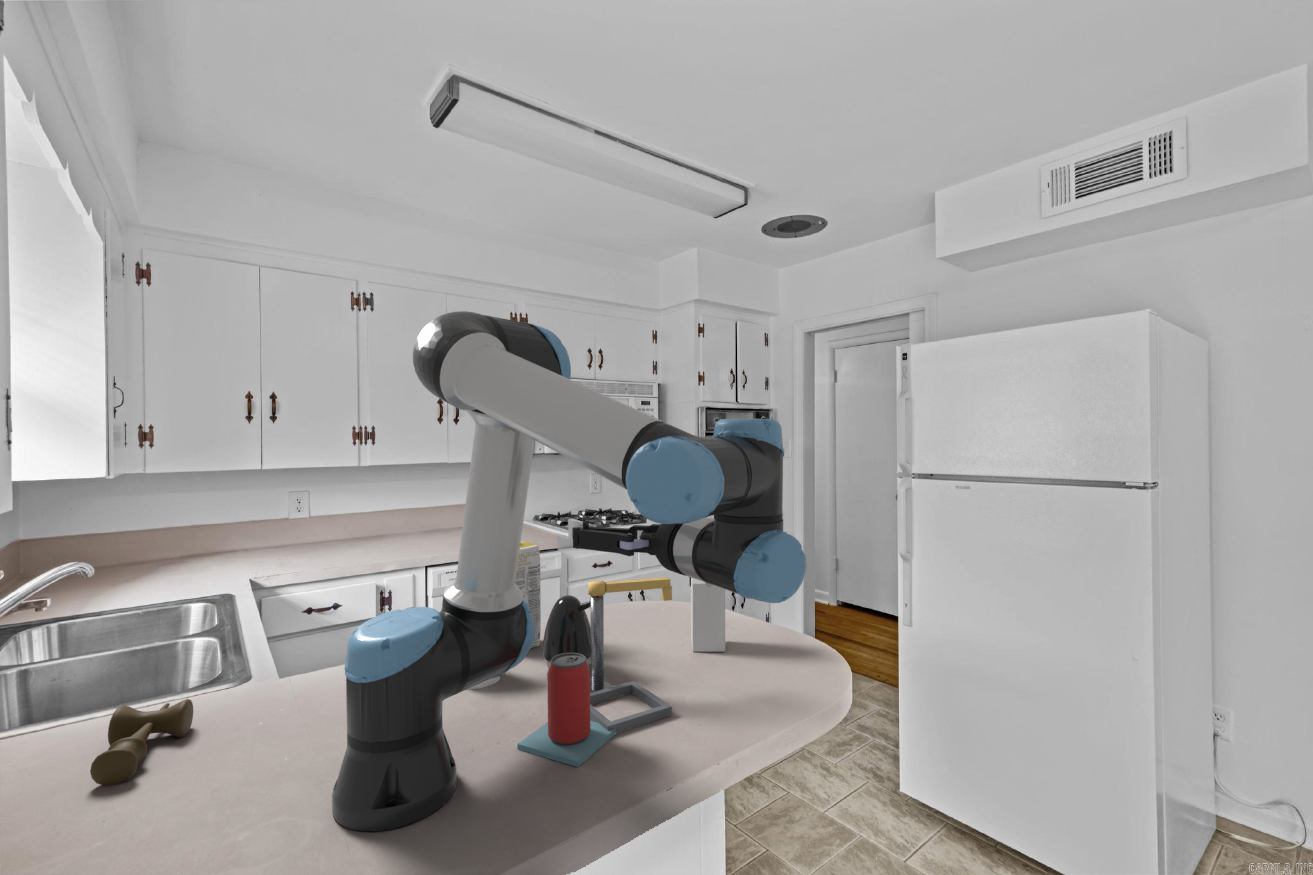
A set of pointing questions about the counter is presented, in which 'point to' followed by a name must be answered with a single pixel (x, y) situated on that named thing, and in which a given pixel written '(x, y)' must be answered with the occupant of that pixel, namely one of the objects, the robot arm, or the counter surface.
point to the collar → (625, 723)
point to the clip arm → (631, 586)
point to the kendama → (137, 739)
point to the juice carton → (530, 584)
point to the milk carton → (707, 617)
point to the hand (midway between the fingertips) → (610, 524)
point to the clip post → (597, 644)
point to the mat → (566, 753)
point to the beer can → (568, 698)
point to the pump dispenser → (567, 629)
